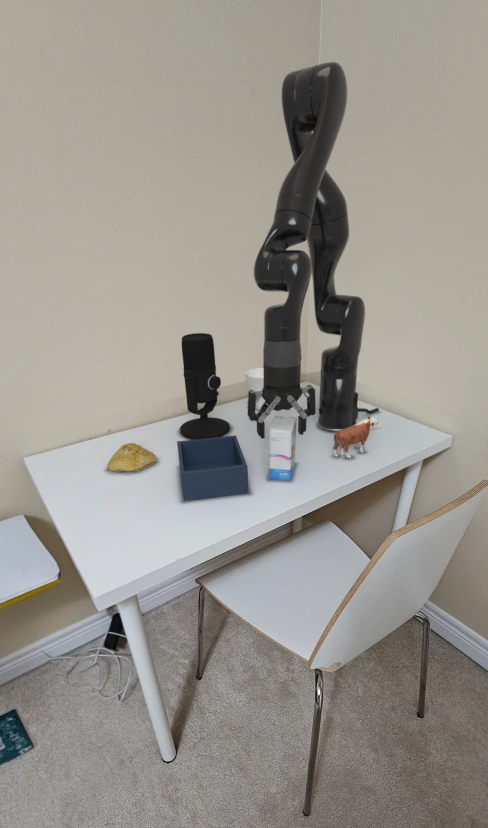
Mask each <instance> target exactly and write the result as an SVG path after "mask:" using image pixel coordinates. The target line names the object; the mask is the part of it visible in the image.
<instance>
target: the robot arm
mask: <svg viewBox="0 0 488 828" xmlns="http://www.w3.org/2000/svg"><path fill="white" fill-rule="evenodd" d="M347 105H348V82H347V77H346V73H345V70H344V69H343V67H342V66H341V64H340V63H338V62H336V61H329V62H328V61H327V62H322V63H320V64H319V63H318V64H316V65H311V66H309V67H305V68H301V69H298V70H297V69H296V70H293V71H290V72H289V73H287V74H286V75H285V77H284V79H283V81H282V85H281V106H282V107H281V109H282V115H283V120H284V125H285V129H286V130H285V131H286V134H287V139H288V143H289V147H290V151H291V155H292V160H293V165H292V166H291V168H290V169H289V171H288V172H287V173H286V175H285V177H284V179H283V181H282V183H281V186H280V188H279V191H278V194H277V199H276V203H275V210H274V214H273V219H272V224H271V225H270V228H269V230H268V232H267V234H266V236H265V239H264V241H263V243H262V245H261V247H260V248H259V251H258V253H257V255H256V259H255V261H254V265H253V279H254V282H255V284H256V286H257V288H258V289H259V290H261V291H263V292H269V293H287V298H286V300H285V301H284V302H283V303H278V304H274V305H270V306H268V307H267V308H265V310H264V314H263V336H264V340H263V347H262V357H263V358H262V360H263V361H262V362H263V367H262V368H263V375H264V387H263V390H262V391H253V390H249V392H248V391H247V417H248V419H249V421H251V422H256V433H257V436H258V437H259V438H260V439H262V440H263V439H266V428H265V426H266V423H265V420H266V419H267V417H268V416H270V414H272V412H273V411H275V412H279V411H282V410H283V411H289V410H291V409H292V408H293V409H294V410H295V412H297V414H298V415H297V432H298V435H300V436H303V435H304V434H305V433H306V431H307V423H308V422H307V421H308V420H307V419H308V418H309V417H311V416H315V415H316V413H317V411H318V422H317V426H318V428H320V429H321V430H323V431H326V432H332V433H336V432H337V431H339V430H342V429H344V428H348V427H350V426H352V425H354V424H356V423H357V419H358V418H359V413H366V414H368V415H371V414H374V413H376V412H379V411H380V409H379V407H376V408H373V409H370V410H369V409H368V408H364V407H361V408H359V407H358V402H359V401H358V400H359V393H358V392H357V377H358V366H359V364H358V363H359V357H360V352H361V350H362V343H363V334H364V326H365V320H366V319H365V318H366V306H365V301H364V300H363V298H362V297H360V296H358V295H357V296H356V295H350V294H349V295H348V294H338V293H337V291H336V284H335V276H336V275H335V274H336V271H337V267H338V266H339V262H340V260H341V258H342V257H343V254H344V252H345V251H346V247H347V246H348V243H349V239H350V238H349V237H350V222H349V212H348V203H347V200H346V197H345V195H344V193H343V191H342V190H341V188H340V187H339V185H338V183H337V182H336V181H335V180H334V178H333V177H332V176H331V174H330V173H329V171H327V166H328V163H329V161H330V158H331V156H332V153H333V151H334V147H335V144H336V141H337V138H338V136H339V133H340V130H341V127H342V124H343V121H344V118H345V114H346V109H347ZM304 242H306V243H307V248H308V253H307V252H306V251H304V250H300V249H289V248H291V247H294V246H297V245H301V244H303V243H304ZM308 254H309V255H308ZM311 278H312V287H313V288H312V289H313V307H314V316H315V322H316V326H317V328H318V330H319V331H320V332H321V333H324V334H327V335H333V336H340V337H339V344H338V345H335V346H331V347H327V348H325V349H324V350H323V351H322V352H321V355H320V374H319V375H320V379H319V401H318V403H319V404H318V407H317V408H318V409H317V411H316V402H317V401H316V389H315V387H314V386H312V384H307V385H306V386H305V387H301V369H302V368H301V365H302V345H301V321H302V319H301V318H302V312H303V306H304V304H305V303H304V302H305V298H306V296H307V292H308V289H309V286H310V282H311ZM302 395H303V396H304V397H305V398H306V408H305V409H303V408H302V406H301V405H300V404H299V402H298V401H299V399H300V398H301V397H302ZM260 397H263V399H264V400H265V402H264V404H263V405H262V407H261V409H259V410H258V412H256V410H257V409H256V402H258V401H259V398H260Z"/></svg>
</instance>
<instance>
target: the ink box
mask: <svg viewBox="0 0 488 828" xmlns="http://www.w3.org/2000/svg"><path fill="white" fill-rule="evenodd" d="M297 420H298V417H291V416H281V415H276V416H274V418H273V421H272V422H271V425H270V427H269V430H268V431H269V436H268V437H269V438H268V441H269V442H268V443H269V447H268V449H269V452H268V457H269V458H268V459H269V461H268V479H269V480H278V481H279V480H280V481H291V478H292V476H293V475H292V474H293V471H294V467H295V464H296V441H297V440H296V439H297Z"/></svg>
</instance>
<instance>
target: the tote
mask: <svg viewBox="0 0 488 828" xmlns="http://www.w3.org/2000/svg"><path fill="white" fill-rule="evenodd" d="M176 445H177V456H178V463H179V473H180V482H181V491H182V497H183V502H189V501H197V500H206V499H215V498H222V497H229V496H238V495H246V494H249V493H250V491H249V471H248V470H249V468H248V464H247V461H246V458H245V455H244V453H243V450H242V448H241V445H240V443H239V440H238V437H237V435H236V434H235V435H224V436H222V437H215V438H205V439H195V440H192V439H187V440H177V441H176Z"/></svg>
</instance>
